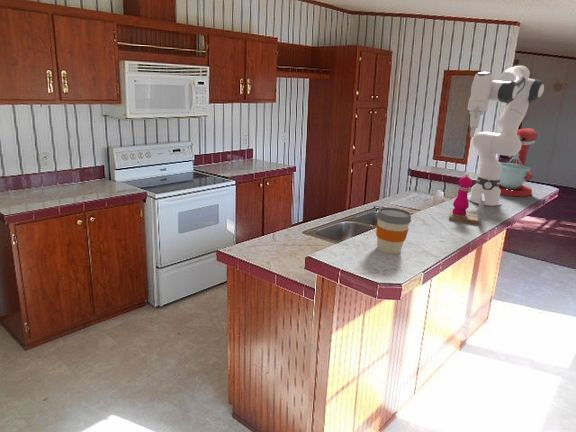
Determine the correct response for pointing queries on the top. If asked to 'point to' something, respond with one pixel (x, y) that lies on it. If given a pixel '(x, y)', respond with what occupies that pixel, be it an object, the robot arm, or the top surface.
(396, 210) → the reusable coffee cup
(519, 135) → the stand mixer
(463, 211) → the pepper mill
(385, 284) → the top surface
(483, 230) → the top surface
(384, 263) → the top surface
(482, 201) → the bookend
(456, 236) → the top surface
